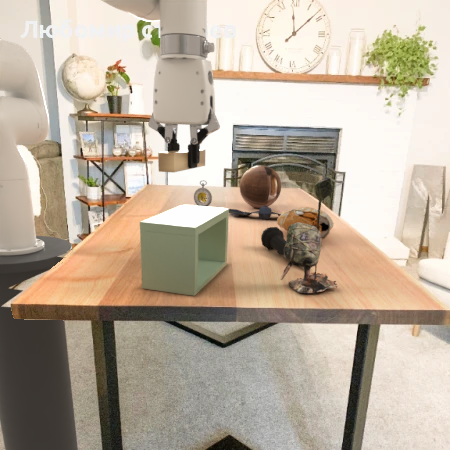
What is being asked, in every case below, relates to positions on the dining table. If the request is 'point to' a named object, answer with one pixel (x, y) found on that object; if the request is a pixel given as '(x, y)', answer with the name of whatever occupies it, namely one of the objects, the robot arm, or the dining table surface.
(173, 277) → the shelf
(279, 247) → the microphone
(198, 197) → the pocket watch
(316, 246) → the plant with pod
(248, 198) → the wooden sphere
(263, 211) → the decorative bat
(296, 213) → the nautilus
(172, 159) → the stick
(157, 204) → the dining table surface
